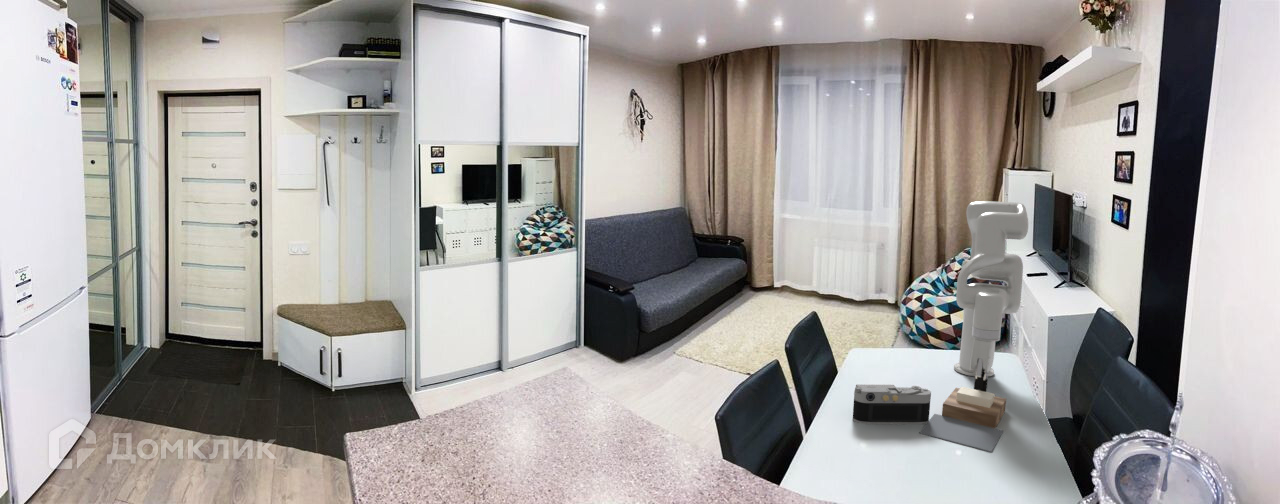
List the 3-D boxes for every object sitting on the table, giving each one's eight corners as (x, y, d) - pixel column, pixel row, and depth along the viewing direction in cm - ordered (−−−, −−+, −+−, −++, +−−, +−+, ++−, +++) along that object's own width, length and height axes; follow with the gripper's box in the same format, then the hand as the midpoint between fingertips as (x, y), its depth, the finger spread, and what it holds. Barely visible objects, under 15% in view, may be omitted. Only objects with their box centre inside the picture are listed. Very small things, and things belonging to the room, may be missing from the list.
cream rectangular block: (960, 394, 199) (961, 386, 198) (993, 401, 193) (994, 393, 193) (956, 400, 194) (956, 392, 194) (989, 408, 189) (990, 399, 188)
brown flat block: (954, 399, 205) (955, 387, 204) (1005, 411, 196) (1006, 398, 196) (941, 416, 192) (942, 403, 192) (994, 429, 184) (996, 416, 183)
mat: (934, 414, 194) (934, 413, 193) (1002, 431, 183) (1002, 430, 183) (919, 433, 181) (919, 432, 181) (991, 452, 170) (991, 451, 170)
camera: (918, 411, 196) (921, 380, 194) (933, 425, 186) (936, 392, 184) (846, 411, 196) (848, 379, 194) (857, 425, 186) (859, 392, 184)
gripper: (977, 325, 204) (971, 381, 207) (966, 336, 192) (961, 395, 195) (1004, 330, 199) (998, 387, 202) (995, 341, 187) (988, 402, 190)
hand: (980, 391), depth 199 cm, fingers closed
